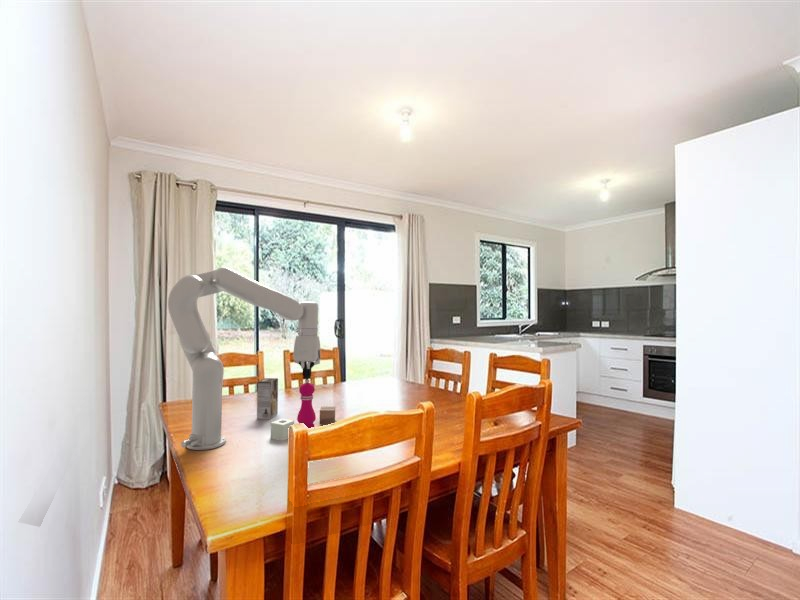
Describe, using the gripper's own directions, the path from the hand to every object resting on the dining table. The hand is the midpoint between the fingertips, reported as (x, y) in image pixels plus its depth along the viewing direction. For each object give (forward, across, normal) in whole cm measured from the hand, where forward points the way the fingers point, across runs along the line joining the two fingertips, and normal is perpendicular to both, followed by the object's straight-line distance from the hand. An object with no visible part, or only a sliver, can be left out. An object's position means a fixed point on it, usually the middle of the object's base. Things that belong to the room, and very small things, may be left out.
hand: (306, 378), depth 160 cm
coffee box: (+21, -25, +11) cm, 34 cm away
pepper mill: (+20, 0, 0) cm, 21 cm away
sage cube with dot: (+20, -4, -11) cm, 23 cm away
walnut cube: (+20, +4, +11) cm, 24 cm away
